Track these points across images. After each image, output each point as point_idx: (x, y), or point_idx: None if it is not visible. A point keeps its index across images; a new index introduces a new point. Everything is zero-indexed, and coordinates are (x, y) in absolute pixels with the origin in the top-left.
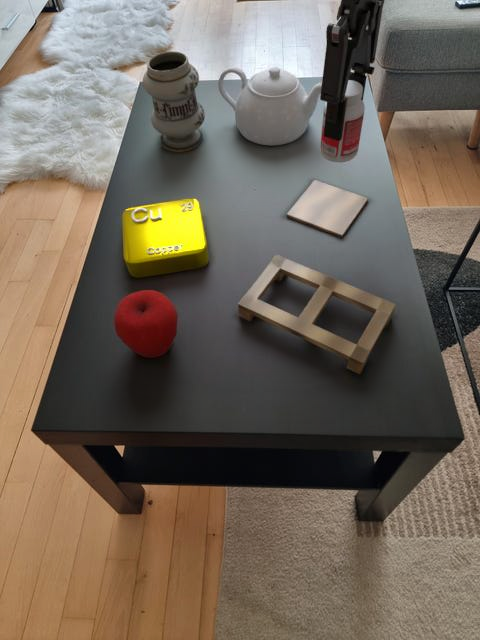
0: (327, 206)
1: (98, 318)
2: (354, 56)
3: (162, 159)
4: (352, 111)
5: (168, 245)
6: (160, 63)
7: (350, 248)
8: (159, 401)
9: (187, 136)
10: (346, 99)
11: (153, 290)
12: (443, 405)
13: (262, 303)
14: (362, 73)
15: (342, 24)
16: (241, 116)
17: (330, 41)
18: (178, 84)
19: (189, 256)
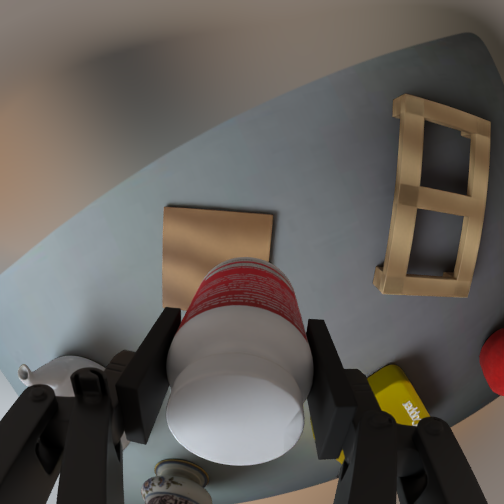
0: (215, 264)
1: (469, 401)
2: (120, 489)
3: (227, 478)
4: (286, 347)
5: (405, 414)
6: None
7: (291, 192)
8: None
9: (181, 474)
10: (342, 404)
11: (499, 382)
12: (462, 39)
13: (461, 270)
14: (116, 404)
15: None
16: (126, 446)
17: None
18: None
19: (413, 387)
